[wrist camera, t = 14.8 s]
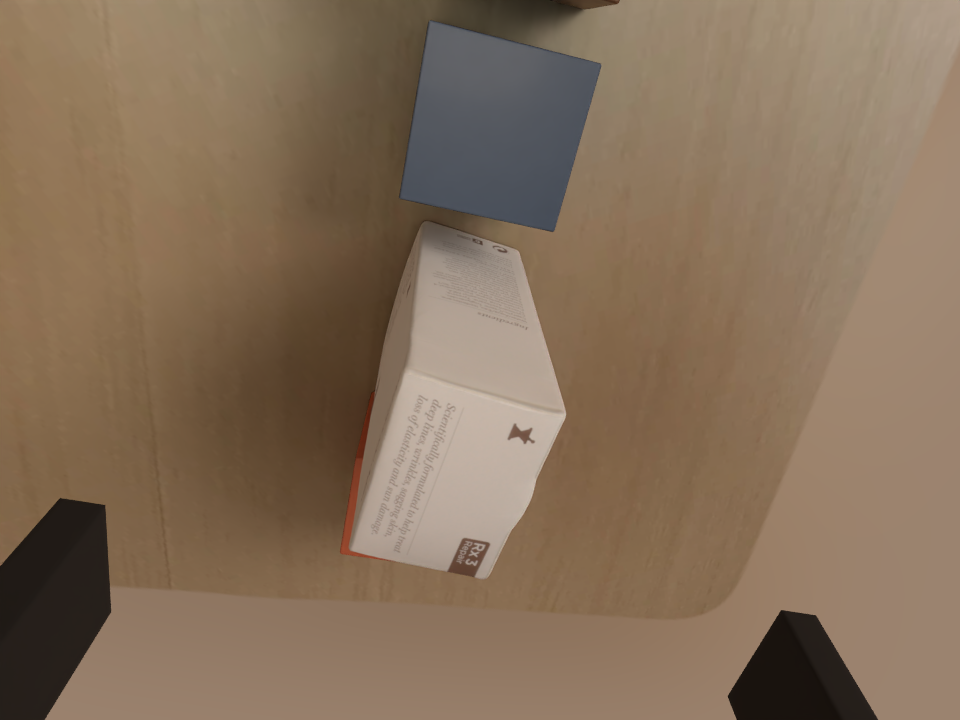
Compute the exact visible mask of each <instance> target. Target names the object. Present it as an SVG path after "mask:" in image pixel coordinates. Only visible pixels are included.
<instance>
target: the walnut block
mask: <svg viewBox="0 0 960 720" xmlns="http://www.w3.org/2000/svg"><path fill="white" fill-rule="evenodd" d="M551 1H555V2H558V3H562V4H566V5H570V6H573V7H577V8H581V9H590V8H596V7H602V6H608V5H614V4H618V3H619V1H620V0H551Z"/></svg>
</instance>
